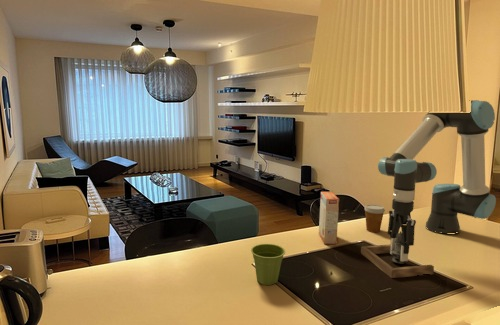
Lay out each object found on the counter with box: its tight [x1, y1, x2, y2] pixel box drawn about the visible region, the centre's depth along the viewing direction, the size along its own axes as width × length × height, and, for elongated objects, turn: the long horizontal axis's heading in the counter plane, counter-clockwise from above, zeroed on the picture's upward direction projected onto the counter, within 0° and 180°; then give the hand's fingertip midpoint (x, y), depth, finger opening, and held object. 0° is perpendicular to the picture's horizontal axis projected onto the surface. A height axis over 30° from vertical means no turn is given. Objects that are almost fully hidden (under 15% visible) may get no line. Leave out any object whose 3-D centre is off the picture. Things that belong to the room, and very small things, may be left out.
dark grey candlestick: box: [391, 230, 407, 264], centre depth 140 cm, size 6×6×12 cm
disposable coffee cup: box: [364, 204, 386, 233], centre depth 177 cm, size 10×10×12 cm
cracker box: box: [318, 191, 340, 245], centre depth 164 cm, size 14×6×21 cm, turn 179°
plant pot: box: [250, 243, 286, 286], centre depth 125 cm, size 12×12×11 cm
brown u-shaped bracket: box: [360, 243, 435, 279], centre depth 141 cm, size 17×22×3 cm
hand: (398, 257), depth 141 cm, fingers closed on dark grey candlestick, 6 cm apart
